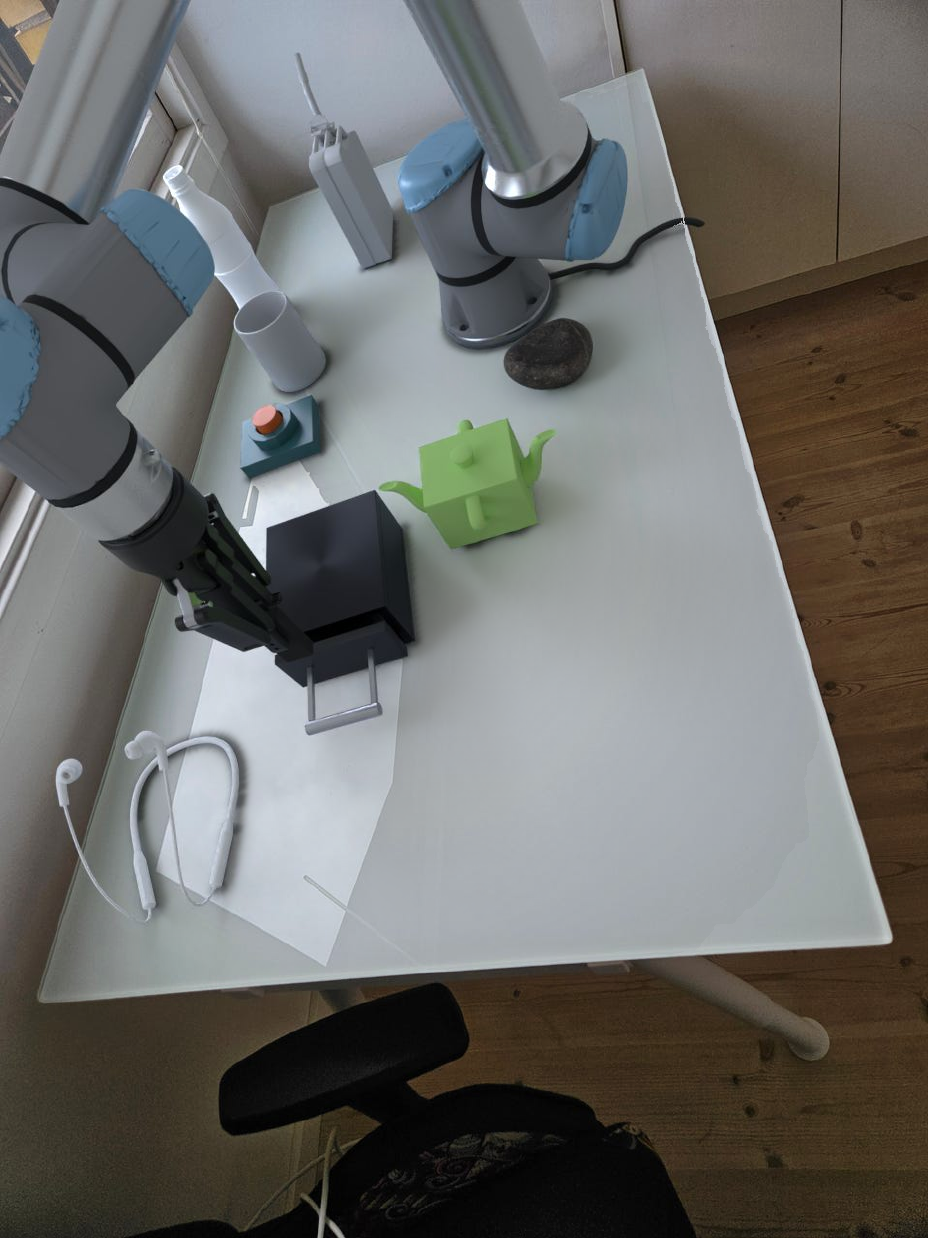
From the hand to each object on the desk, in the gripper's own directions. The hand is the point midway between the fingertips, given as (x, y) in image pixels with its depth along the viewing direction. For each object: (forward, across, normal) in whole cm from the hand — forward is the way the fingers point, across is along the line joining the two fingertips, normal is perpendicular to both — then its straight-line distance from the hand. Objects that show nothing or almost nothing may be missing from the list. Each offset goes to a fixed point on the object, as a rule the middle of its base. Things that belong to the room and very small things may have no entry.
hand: (300, 652), depth 76 cm
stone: (+12, +39, -29) cm, 50 cm away
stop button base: (+12, +44, +9) cm, 46 cm away
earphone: (+13, -8, +21) cm, 26 cm away
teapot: (+13, +20, -18) cm, 29 cm away
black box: (+12, +14, 0) cm, 18 cm away
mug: (+12, +59, +6) cm, 60 cm away
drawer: (+11, +7, 0) cm, 13 cm away
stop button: (+9, +43, +9) cm, 45 cm away
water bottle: (+12, +72, +11) cm, 73 cm away
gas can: (+12, +82, -8) cm, 83 cm away
